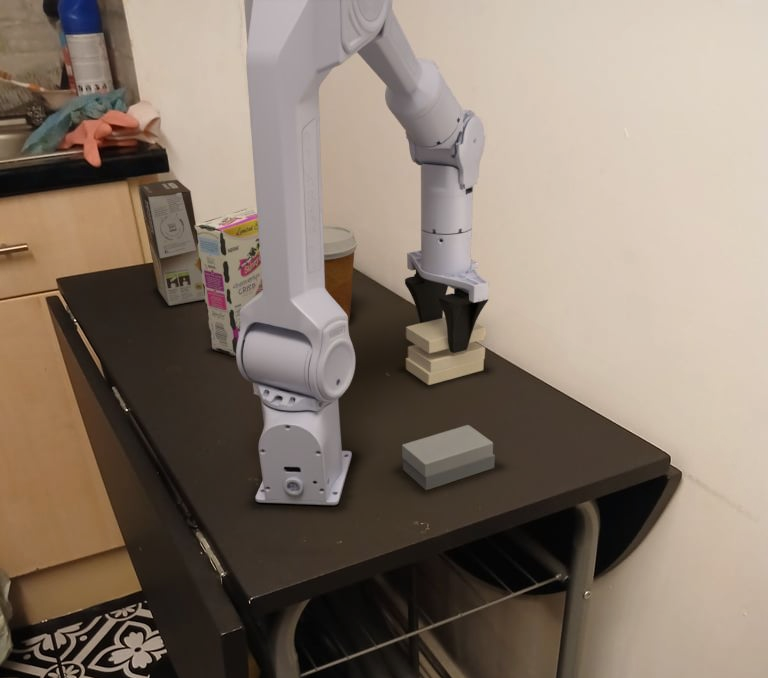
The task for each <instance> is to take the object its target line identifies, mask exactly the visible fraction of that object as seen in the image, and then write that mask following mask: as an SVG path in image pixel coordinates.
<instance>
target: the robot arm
mask: <svg viewBox="0 0 768 678" xmlns="http://www.w3.org/2000/svg"><path fill="white" fill-rule="evenodd" d="M393 1H394V0H243V3H244V4H243V5H244V15H245V16H244V17H245V18H244V19H245V30H246V31H245V33H246V44H247V45H246V46H247V47H246V53H245V54H246V55H245V56H246V78H247V90H248V91H247V92H248V106H249V118H250V119H249V121H250V133H251V147H252V160H253V161H252V162H253V174H254V175H253V176H254V189H255V190H254V191H255V203H256V207H257V217H258V231H259V245H260V259H261V272H262V286H263V290H262V291H261V292H260V293H259V294H258V295H256V296H255V297H254V298H253V299H251V300H250V301H249V302H248V303H247V304H246V305H245V306H244V307H243V308H242V309H241V310H240V312H239V313H240V334H239V338H238V342H237V348H236V356H235V359H236V360H235V361H236V365H237V369H238V371H239V373H240V375H241V376H242V377H243V379H244V380H246V381H247V382H249V383H251V384H252V389H253V395H256V396H258V397H259V399H260V404H261V411H262V419H263V429H262V432H261V435H260V437H259V441H258V455H259V464H260V468H261V469H260V470H261V477H262V481H261V483H260V486H259V488H258V490H257V492H256V494H255V496H254V497H255V502H257V503H262V504H288V505H289V504H290V505H293V504H294V505H318V506H336V505H339V503H340V500H341V496H342V493H343V489H344V486H345V482H346V479H347V474H348V472H349V467H350V464H351V460H352V458H353V455H352V451H350V450H343V448H342V437H341V433H342V432H341V419H340V407H339V399H340V398H341V397H342V396H343V395H344V393H346V391H347V390H348V389H349V387H350V385H351V383H352V381H353V378H354V375H355V369H356V352H355V349H354V345H353V342H352V340H351V337H350V331H349V321H348V316H347V314H346V313H345V312H344V311H343V309H342V308H341V307H340V306H339V305H338V303H337V302H336V301H335V300H334V299H333V298H332V297H331V296H330V294H329V293H328V292H327V291H326V289H325V274H324V242H323V226H324V217H323V216H324V215H323V214H324V213H323V182H322V181H323V180H322V152H321V150H322V149H321V121H320V117H321V116H320V87H321V85H322V84H323V82H324V81H325V79H326V78H328V76H329V74H330V73H331V72H332V70H333V69H334V68H336V67H339V66H341V65H342V64H344V63H345V62H346V61H348V60H349V59H350V58H351V57H353V56H354V55H355V54H356V53H357V55H358V56H360V58H361V59H362V60H363V61H364V62H365V64H367V65H368V67H370V69H371V70H372V71H373V72H374V73H375V74H376V75H377V77H379V80H381V81H382V82H383V83H384V85H385V91H384V100H385V103H386V106H387V108H388V110H389V111H390V112H391V113H392V115H393V116H394V118H395V119H396V120H397V121H398V123H399V124H400V125H401V127H402V128H403V129H404V131H405V132H404V133H405V135H406V136H405V138H406V139H407V142H408V148H409V149H408V150H409V155H410V158H411V161H412V162H413V163H415V164H416V165H417V166H420V250H415V251H411V252H407V253H406V261H407V262H406V264H407V269H408V270H410V271H415V273H414V274H413V276H409V277H405V279H404V285H405V287H406V288H407V290H408V291H409V294H410V295H411V298H412V300H413V302H414V306H415V308H416V311H417V315H418V320H419V324H420V323H424V322H428V321H432V320H437V319H441V318H445V319H446V324H447V334H448V344H449V349H450V352H452V353H457V352H461V351H464V350H467V348H468V344H469V341H470V338H471V334H472V331H473V328H474V325H475V323H476V322H477V320H478V318H479V316H480V314H481V312H482V311H483V309H484V307H485V306H486V305H487V303H488V302H489V293H490V290H489V289H490V282H489V281H487V280H485V279H484V278H482V276H481V275H480V274H479V273H478V271H477V270H478V269H479V263H478V261H475V260H473V259H472V243H473V240H472V239H473V238H472V236H473V235H472V234H473V212H474V211H473V208H474V185H477V184H478V179H479V177H480V164H481V161H482V157H483V154H484V150H485V145H486V144H485V143H486V135H485V129H484V124H483V123H484V122H483V121H482V119H481V117H480V116H478V115H476V113H475V112H474V111H473V110H471V109H463V107H462V106H461V104H460V102H459V100H458V99H457V97H456V96H455V94H454V93H453V91H452V89H451V88H450V87H449V84H448V83H447V81H446V79H445V78H444V77H443V75H442V73H441V71H439V67H438V64H437V63H436V61H435V60H433V59H432V60H431V59H428V58H423V57H421V58H420V57H417V56H416V54H415V52H414V50H413V48H412V46H411V44H410V42H409V40H408V38H407V36H406V34H405V32H404V30H403V28H402V26H401V24H400V22H399V20H398V18H397V15H395V11H394V10H393ZM448 288H451V289H453V293H448V294H447V292H448V290H449V289H448ZM443 315H444V316H443Z"/></svg>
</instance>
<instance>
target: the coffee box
mask: <svg viewBox="0 0 768 678" xmlns="http://www.w3.org/2000/svg"><path fill="white" fill-rule="evenodd" d="M137 191H138V196H139V202H140V207H141V210H142V216H143V220H144V225H145V230H146V235H147V241H148V244H149V250H150V255H151V260H152V265H153V270H154V275H155V276H154V277H155V280H156V285H157V291H158V293H160V295H161V297H162V298H163V299H164V302H166V304H167V305H168V306H170V307H171V306H177V305H182V304H188V303H193V302H200V301H205V294H204V287H203V282H202V275H201V268H200V261H199V254H198V247H197V240H196V233H195V227H194V225H196V224H197V223H196V218H195V211H194V204H193V199H192V192H191V190H190V189H189V188H188V187H187V186H185V185H184V184H183V183H182V182H181V181H179V180H178V179H171V180H161V181H155V182H154V181H153V182H149V183H142V184H138V185H137Z"/></svg>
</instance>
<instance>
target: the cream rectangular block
mask: <svg viewBox="0 0 768 678" xmlns="http://www.w3.org/2000/svg"><path fill="white" fill-rule="evenodd" d="M486 335H487V327H486V326H484V325H483V324H481V323H479V322H477V321H476V323H475V325H474V328H473V331H472V334H471V338H470V341H469V343H472V342H476V343H477V342H479V341H483V340H486V337H487V336H486ZM405 340H408V341H409V342H410V343H412V344H413V345H417V346H418V347H420V348H422V349H423V350H425V351H426V352H428V353H433V352H437V351H441V350H445V349H449V344H448V334H447V324H446V319H445V317H442V318H441V319H437V320H432V321H428V322H424V323H420V322H419V323H415V324H412V325H408V326H405Z"/></svg>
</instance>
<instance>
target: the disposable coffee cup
mask: <svg viewBox="0 0 768 678" xmlns="http://www.w3.org/2000/svg"><path fill="white" fill-rule="evenodd" d="M323 242H324V274H325V289H326V291H327V292H328V293H329V294H330V296H331V297H332V298H333V299H334V300H335V301H336V302H337V303H338V305H339V306H340V307H341V308H342V309H343V311H344V312H345V313H346V314H347V316H348V322H349V321H350V319H351V305H352V294H353V293H352V292H353V290H352V289H353V278H354V277H353V275H354V264H355V263H354V262H355V251H356V249H357V246H358V240H357V239H356V238H355V234H354V232H353V230H351V229H350V228H347V227H344V226H338V225H337V226H335V225H323Z"/></svg>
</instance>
